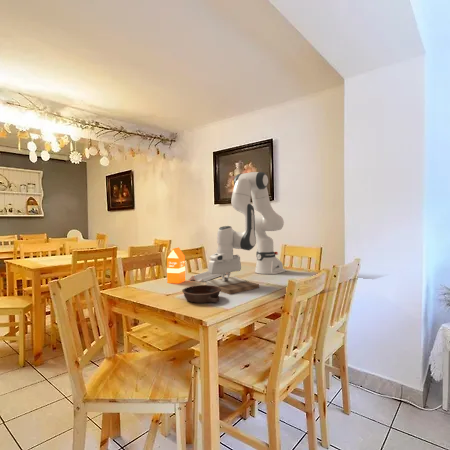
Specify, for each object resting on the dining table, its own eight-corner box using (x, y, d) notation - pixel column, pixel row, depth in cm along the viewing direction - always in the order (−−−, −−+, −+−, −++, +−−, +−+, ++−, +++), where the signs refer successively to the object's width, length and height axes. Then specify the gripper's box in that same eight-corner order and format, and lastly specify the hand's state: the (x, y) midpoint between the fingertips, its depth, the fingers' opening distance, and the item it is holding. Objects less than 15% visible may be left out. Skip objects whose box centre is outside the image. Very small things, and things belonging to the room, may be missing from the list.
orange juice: (167, 282, 172) (166, 248, 172) (173, 279, 181) (173, 247, 180) (179, 283, 170) (178, 248, 170) (185, 280, 179) (185, 247, 178)
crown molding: (204, 283, 173) (204, 277, 173) (187, 281, 179) (187, 275, 179) (230, 273, 200) (230, 268, 200) (215, 272, 206) (215, 267, 206)
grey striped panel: (234, 279, 173) (234, 276, 173) (247, 284, 164) (247, 281, 164) (206, 284, 161) (206, 281, 161) (217, 290, 152) (218, 286, 152)
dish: (199, 292, 150) (199, 282, 150) (232, 299, 136) (232, 289, 135) (171, 299, 137) (171, 289, 137) (204, 308, 123) (204, 297, 122)
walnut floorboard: (247, 284, 164) (247, 281, 164) (258, 287, 157) (258, 283, 156) (218, 290, 152) (218, 286, 152) (229, 294, 144) (229, 289, 144)
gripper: (236, 253, 171) (236, 277, 171) (206, 256, 159) (206, 282, 159) (243, 254, 166) (243, 279, 166) (213, 257, 154) (213, 284, 154)
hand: (225, 280), depth 163 cm, fingers closed, pressing on grey striped panel
